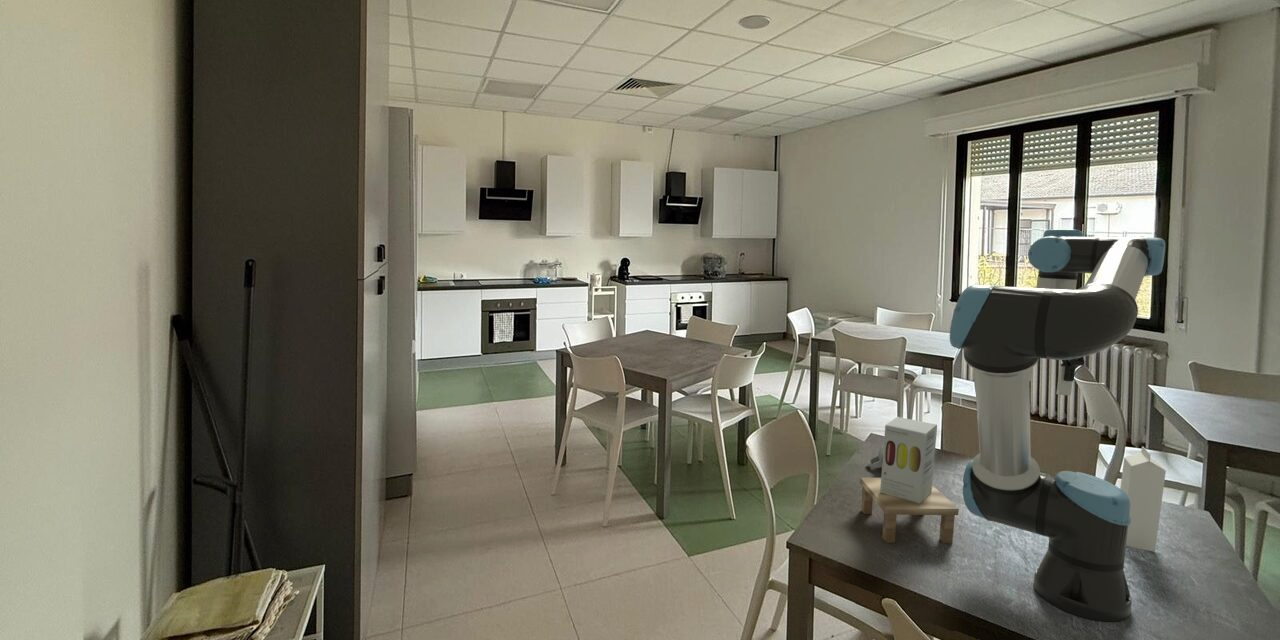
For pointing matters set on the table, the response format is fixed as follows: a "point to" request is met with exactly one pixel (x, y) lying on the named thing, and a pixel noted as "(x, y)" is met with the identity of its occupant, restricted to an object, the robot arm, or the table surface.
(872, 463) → the ceramic mug
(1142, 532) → the milk
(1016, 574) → the table surface
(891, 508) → the footstool
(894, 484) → the supplement box
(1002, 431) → the robot arm
